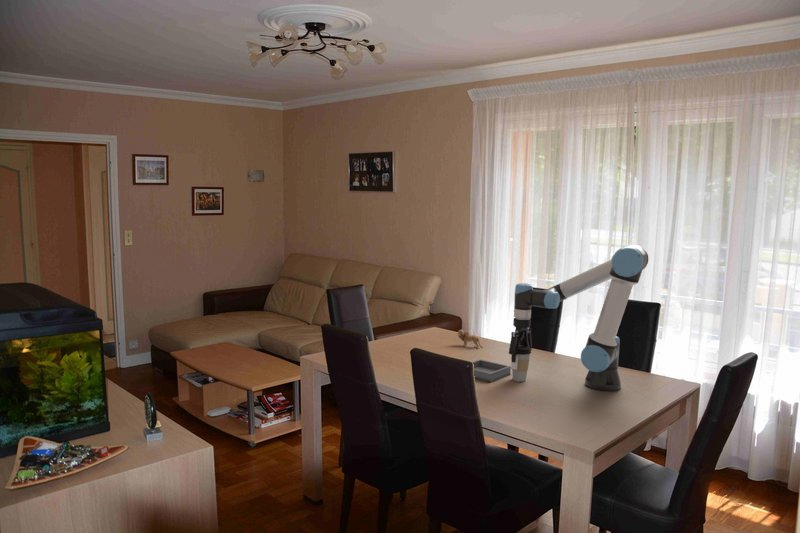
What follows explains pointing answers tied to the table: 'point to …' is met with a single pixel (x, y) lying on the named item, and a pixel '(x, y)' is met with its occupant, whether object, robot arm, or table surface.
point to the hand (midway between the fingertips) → (519, 366)
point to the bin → (490, 370)
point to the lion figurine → (468, 338)
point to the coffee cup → (522, 364)
